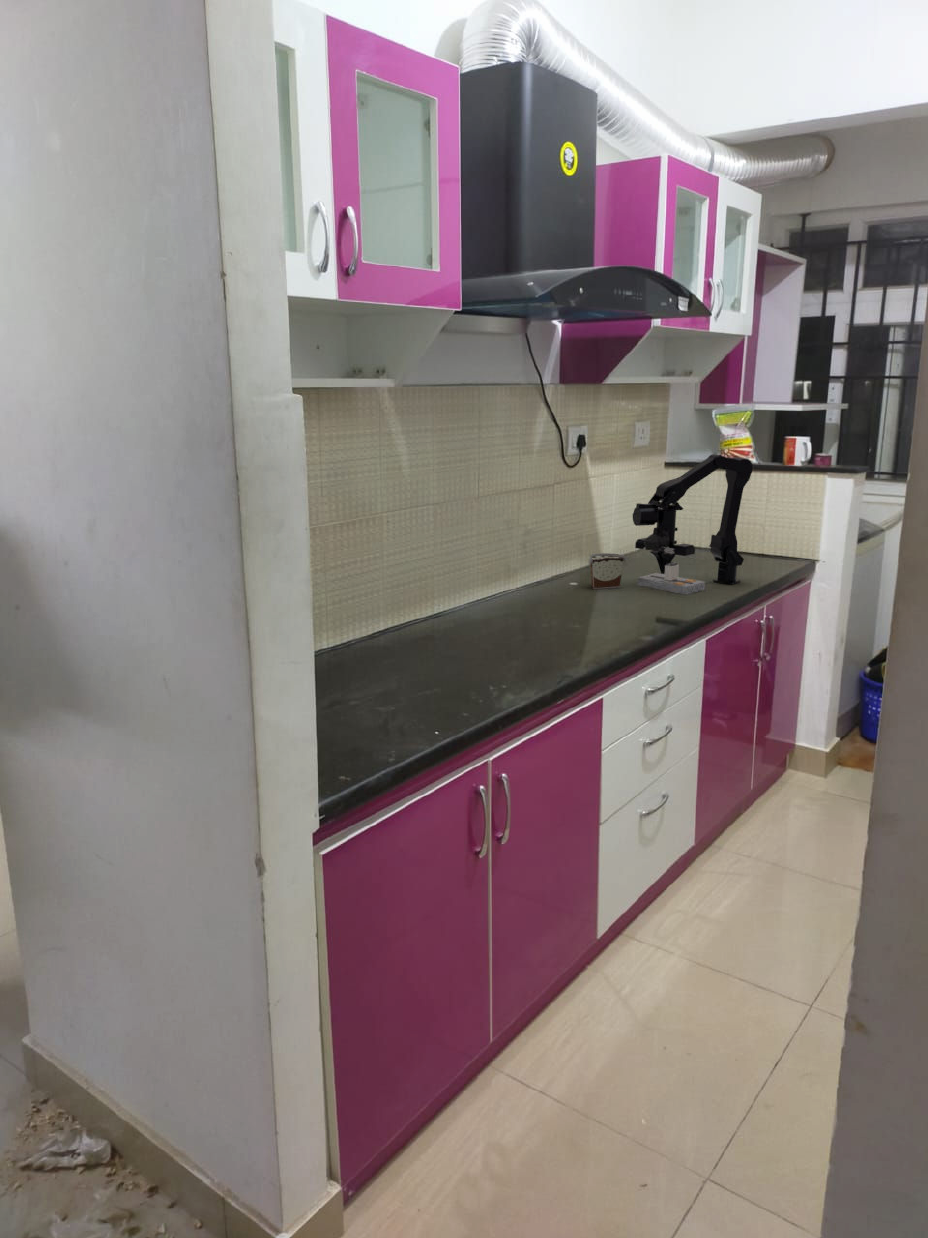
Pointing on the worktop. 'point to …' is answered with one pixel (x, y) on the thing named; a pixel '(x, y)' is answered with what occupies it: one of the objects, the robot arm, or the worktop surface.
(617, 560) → the food container
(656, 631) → the worktop surface
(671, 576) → the fader tab
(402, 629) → the worktop surface
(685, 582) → the console
